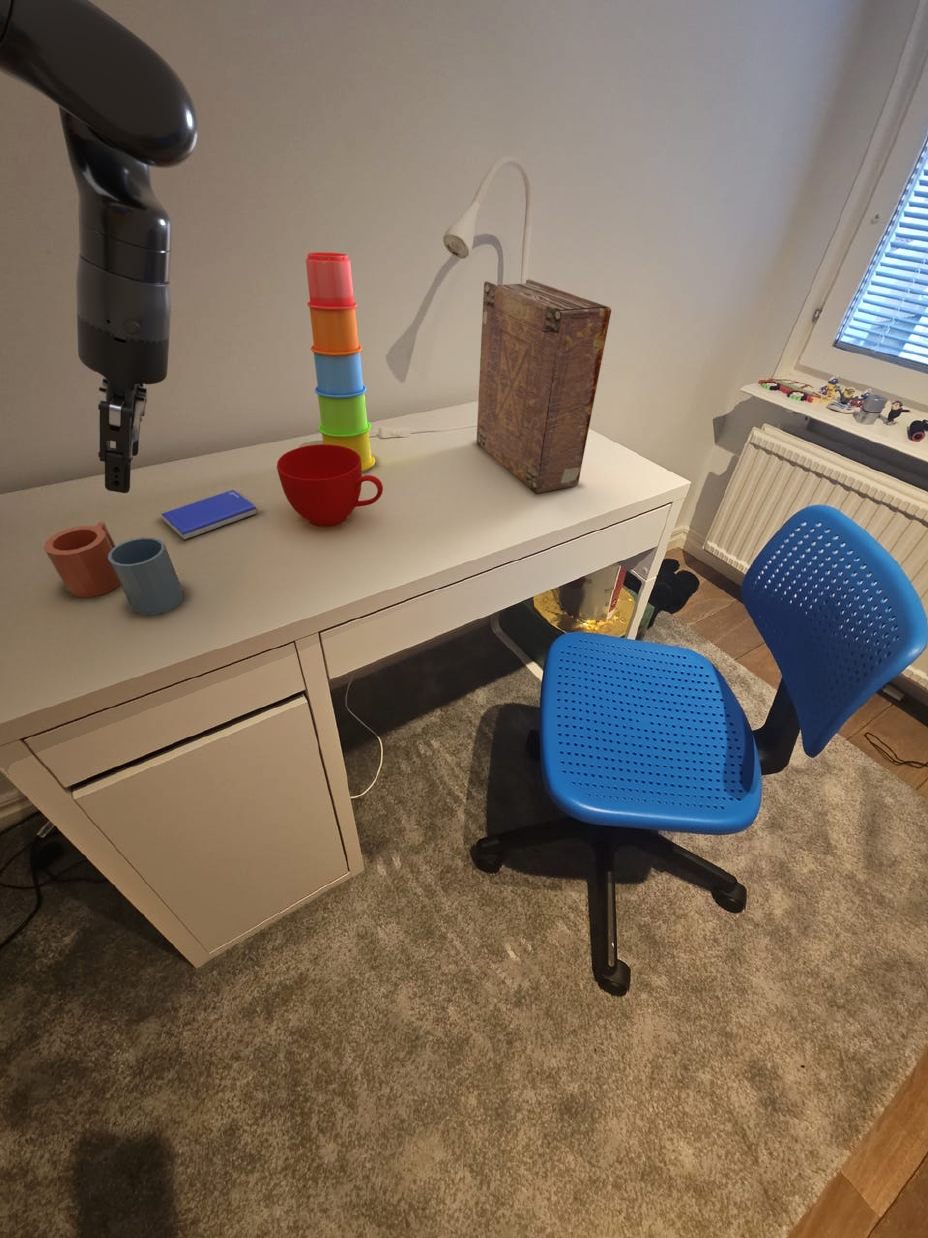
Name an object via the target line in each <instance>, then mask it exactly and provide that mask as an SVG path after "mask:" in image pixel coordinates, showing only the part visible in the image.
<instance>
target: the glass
mask: <svg viewBox="0 0 928 1238" xmlns="http://www.w3.org/2000/svg"><path fill="white" fill-rule="evenodd" d="M115 546H116V547H114V548H113V549H112V550H111V551H110V552H109V554H108V560H109V562H110V564H111V566H112V569H113V571H114V573H115V575H116V577H117V579H118V581H119V583H120V585H119V586H120V587H121V590H122V591H123V593H124V595H125V598H126V600H127V602H128V604H129V606H130V607H131V609H132V611H133V612H135V613H136V614H138V615H141V616H147V617H148V616H149V617H150V616H159V615H162V614H165V613H168V612H170V611H172V610H174V609H175V608H177V607H178V606H179V605H180V604H181V603H182V602H183V600H184V596H185V594H184V591H183V588H182V585H181V582H180V580H179V577H178V574H177V572H176V569H175V567H174V564H173V561H172V559H171V556H170V554H169V552H168V549H167V547H166V544H165V543H164V542H163V541H162V540H161V539H159V538H156V537H146V536H145V537H142V536H141V537H136V538H131V539H129V540H125V541H123V542H121V543H119V544H117V545H115Z"/></svg>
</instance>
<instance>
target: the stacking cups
mask: <svg viewBox="0 0 928 1238" xmlns="http://www.w3.org/2000/svg"><path fill="white" fill-rule="evenodd" d="M348 258H349V257H348V254H346V253H340V252H325V251H324V252H318V251H317V252H316V251H315V252H308V253H307V257H306V258H305V264H306V265H305V266H306V277H307V285H308V287H307V288H308V295H309V301H308V302H307V303H306V304H307V307H309V314H310V323H311V332H312V333H311V334H312V343H313V345H311V347H310V351H311V352H312V353H313V359H314V366H315V376H316V377H315V378H316V384H317V386H316V387H315V388H314V393H315V394H316V395H317V401H318V407H319V417H320V424H319V425H318V427H317V428H318V429H317V430H318V432H319V433H320V434H321V438H322V444H329V445H339V446H343V447H347V448H350V449H352V450H354V451H355V452H357V453H358V454H359V456H360V458H361V466H362V473H363V472H366V471H368V470H370V469H371V468H373V467H374V465H375V464H376V458H375V457H374V456H373V455H372V449H371V441H370V431H371V429H372V424H371V423H370V422H369V421H368V417H367V408H366V397H365V393H366V392H367V387H366V386H365V385H364V382H363V371H362V361H361V352H362V351H363V347H362V345H360V344H359V337H358V336H359V335H358V325H357V324H358V323H357V316H356V315H357V314H356V308H357V307H358V303H357V302H355V298H354V288H353V287H354V286H353V277H352V266H351V265H352V264H351V260H350V259H348Z"/></svg>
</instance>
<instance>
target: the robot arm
mask: <svg viewBox="0 0 928 1238" xmlns="http://www.w3.org/2000/svg"><path fill="white" fill-rule="evenodd" d="M0 73H1V74H4V75H6V76H7V77H9V78H11V79H13V80H15V81H17V82H18V83H21V84H23V85H25V86H27V87H28V88H31V89H33V90H34V91H36V92H37V93H40V94H41V95H43V96H44V97H46V98H47V99H49V101H51V102H53V103H54V104H56V105H57V109H58V113H59V114H58V115H59V118H60V123H61V129H62V135H63V138H64V143H65V148H66V153H67V157H68V162H69V166H70V169H71V173H72V176H73V177H72V178H73V180H74V185H75V189H76V194H77V244H78V245H77V247H78V251H77V252H78V257H77V258H78V259H77V260H78V261H77V269H76V277H75V280H76V281H75V293H76V294H75V296H76V327H77V355H78V358H79V360H80V362H81V363H82V364H83V365H84V366H85V367H86V368H87V369H89V370H91V371H93V372H94V373H98V374H99V375H101V376H102V381H101V386H98V393H97V402H98V405H97V407H98V408H97V409H98V411H99V415H98V416H99V418H98V431H99V451H98V454H97V455H98V456H97V457H98V458H99V461H100V462H104V488H105V490H107V491H109V492H115V493H120V494H128V493H129V492H130V489H131V470H132V469H131V468H132V467H131V466H132V465H131V464H132V461H134V457H136V456H138V454H139V447H140V446H139V445H140V431H141V424H142V423H141V422H143V417H145V416H146V415H145V413H146V404H147V401H148V394H149V393H148V392H149V391H148V387H145V386H144V385H155V384H156V385H157V384H159V383H161V382H163V381H165V380H166V378H167V376H168V366H169V348H170V333H171V319H172V318H171V317H172V302H171V300H172V299H171V288H170V287H171V281H170V279H171V264H172V263H171V262H172V247H173V226H172V220H171V218H170V215H169V213H168V211H167V210H166V209H165V207H164V206H163V205H162V203H161V202H160V201H159V199H158V198H157V197H156V195H155V193H154V190H153V186H152V178H151V170H150V168H156V169H172V168H175V167H179V166H181V165H182V164H184V163H185V162H187V161H188V160H189V159H190V158H191V156H192V155H193V153H194V151H195V149H196V147H197V144H198V138H199V121H198V116H197V109H196V107H195V103H194V101H193V99H192V96H191V93H190V92H189V90H188V87H187V86H186V84H185V83H184V81H183V80H182V78H181V76H180V74H178V72H177V71H176V69H175V68H174V67H173V66H172V65H171V64H170V63H169V62H168V61H167V60H166V58H164V57H163V56H162V55H161V54H160V53H159V52H158V51H157V50H156V49H154V48H153V47H152V46H150V44H148V43H147V42H146V41H145V40H143V39H142V38H141V37H140V36H138V35H136V33H134V32H133V31H132V30H130V29H129V28H128V27H126V26H125V25H123V23H121V22H120V21H118V20H117V19H115V18H114V17H113V16H111V15H110V14H109V13H107V12H106V11H104V10H103V9H102V8H101V7H99V6H97V5H96V4H95V3H94V2H92V1H91V0H0ZM111 442H114V443H115V447H111Z"/></svg>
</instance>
